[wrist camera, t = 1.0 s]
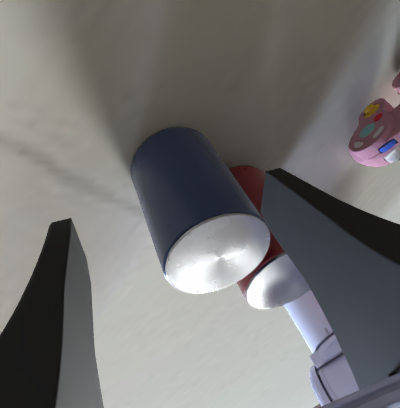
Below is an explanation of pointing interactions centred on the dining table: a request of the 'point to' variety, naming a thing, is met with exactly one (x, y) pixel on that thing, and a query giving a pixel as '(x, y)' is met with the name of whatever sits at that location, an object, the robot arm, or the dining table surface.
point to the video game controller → (378, 133)
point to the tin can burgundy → (268, 257)
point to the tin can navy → (197, 212)
